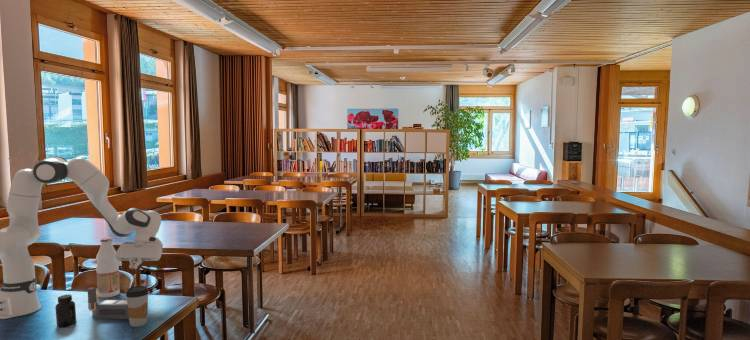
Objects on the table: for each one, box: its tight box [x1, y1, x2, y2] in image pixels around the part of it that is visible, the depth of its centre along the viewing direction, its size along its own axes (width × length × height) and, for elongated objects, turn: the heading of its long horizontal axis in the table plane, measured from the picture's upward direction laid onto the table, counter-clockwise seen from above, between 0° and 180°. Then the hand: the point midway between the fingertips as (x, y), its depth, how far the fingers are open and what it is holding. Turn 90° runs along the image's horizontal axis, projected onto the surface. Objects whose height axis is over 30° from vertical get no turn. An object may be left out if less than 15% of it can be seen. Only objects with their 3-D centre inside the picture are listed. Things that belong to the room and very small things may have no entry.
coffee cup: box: [125, 285, 149, 328], centre depth 191 cm, size 8×8×15 cm
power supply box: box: [91, 299, 129, 320], centre depth 200 cm, size 18×6×8 cm, turn 88°
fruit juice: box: [95, 237, 121, 299], centre depth 226 cm, size 9×9×28 cm
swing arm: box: [87, 286, 100, 312], centre depth 193 cm, size 18×3×8 cm, turn 29°
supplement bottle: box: [54, 294, 77, 329], centre depth 191 cm, size 7×7×12 cm
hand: (132, 268), depth 210 cm, fingers closed
